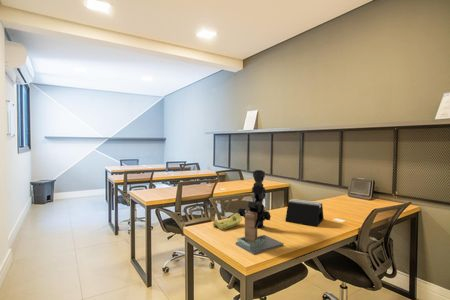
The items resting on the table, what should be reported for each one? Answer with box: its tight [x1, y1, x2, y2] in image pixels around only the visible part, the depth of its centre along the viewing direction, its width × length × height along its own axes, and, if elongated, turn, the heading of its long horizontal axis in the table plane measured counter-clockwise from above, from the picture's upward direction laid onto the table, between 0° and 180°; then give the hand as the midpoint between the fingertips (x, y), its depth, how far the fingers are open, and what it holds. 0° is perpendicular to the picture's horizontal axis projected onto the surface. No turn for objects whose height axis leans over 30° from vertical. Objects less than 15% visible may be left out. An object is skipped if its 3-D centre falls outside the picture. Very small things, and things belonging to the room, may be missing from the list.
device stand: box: [284, 198, 324, 228], centre depth 191 cm, size 22×22×15 cm
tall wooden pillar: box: [244, 212, 258, 242], centre depth 143 cm, size 6×6×15 cm
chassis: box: [235, 234, 284, 255], centre depth 144 cm, size 22×16×3 cm
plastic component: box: [212, 212, 243, 231], centre depth 177 cm, size 20×7×10 cm
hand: (250, 227), depth 142 cm, fingers closed on tall wooden pillar, 5 cm apart
